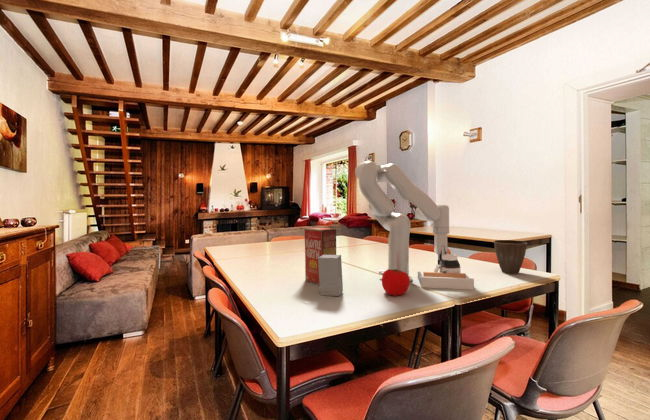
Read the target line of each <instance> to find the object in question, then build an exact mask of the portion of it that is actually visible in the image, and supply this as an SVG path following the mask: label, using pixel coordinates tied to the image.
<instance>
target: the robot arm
mask: <svg viewBox="0 0 650 420" xmlns="http://www.w3.org/2000/svg"><path fill="white" fill-rule="evenodd" d="M354 174H355V177H356V178H357V179H358V184H359V185H358V187H359V190H360V192H361V194H362V195H363V197H364V198H365V200H366V201H367V203H368V210H369V212H370V213H371V214H372V216H373V217H374V218H375V219H376V220H377V221H378V223H379V224H380V225H381V227H383V228H384V229H385V230H386V231H388V232H389V235H388V241H387V242H388V243H387V244H388V245H387V246H388V248H387V249H388V250H387V251H388V255H387V256H388V257H387V258H388V266H387V267H388V268H387V270H389V269H390V270H392V269H393V270H394V269H397V270H400V271H403V272H405V273H407V275H408V276H409V278H410V282H412V281H413V277H412V276H411V275H409V273H410V271H409V270H410V265H409V264H410V263H409V262H410V260H409V259H410V258H409V257H410V248H409V246H410V233H411V221H410V218H409V216H407V215H406V214H404V213H400V212H395V205H394V202H393V201H392V199H391V198H390V197H389V196H388V195H387V194H386V192H385V191H384V190H383V189H382V187H381V186H380V185H379V184H378V183H387V184H389V186H391V188H392V189H393V191H395V192H396V194H398V196H399V197H400V198H402V199H403V200H405V201H407V202H409V203H411V204H412V205H413V206H415V207H416V209H415V210H414V211H415V212H414V215H415V216H416V218H417V219H418V220H420V221H425V222H426V221H427V222H432V234H434V238H433V239H434V240H433V242H434V243H433V251H434V253H435V254H436V255H437V265H439V264H440V261H441V260H442V255H445V254H448V249H449V248H448V245H449V244H448V234H450V207H449V205H447V204H436V203H435V201H434V200H433V199H432V198H431V197H430V196H429V195H428V194H427V193H426V192H424V191H423V190H421V189H420V188H419V187H418V186H416V185H415V184H414V183H413V182H412V180H411V179H410V178H409V177H408V176H407V175H406V173H405V172H404V171H403V170H402V169H401V167H400V166H399V165H397V164H396V163H388V164H384V165H382V164H377V163H376V162H374V161H372V160H367V161H364V162H361V163H359V164H358V165H357V166H356V167H355V170H354ZM385 271H386V270H383V269H381V270H378V275H381V276H383V273H384V272H385Z"/></svg>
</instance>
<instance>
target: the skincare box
mask: <svg viewBox="0 0 650 420" xmlns="http://www.w3.org/2000/svg"><path fill="white" fill-rule="evenodd" d="M318 266H319V284H318V285H319V295H320V296H328V297H329V296H332V297H340V295H341V294H342V293H343V292H344V289H343V285H344V284H343V283H344V282H343V269H342V268H343V266H342V255H341V254H336V255H322V256H320V257H319V258H318Z"/></svg>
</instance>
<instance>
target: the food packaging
mask: <svg viewBox="0 0 650 420" xmlns="http://www.w3.org/2000/svg"><path fill="white" fill-rule="evenodd" d="M322 255H337V229H336V228H330V227H329V228H328V227H321V226H320V227H318V226H316V227H315V226H314V227H306V228H304V263H305V267H304V269H305V275H304V276H305V281H306V282H309V283H313V284H316V285H319V266H318V258H319V257H320V256H322Z"/></svg>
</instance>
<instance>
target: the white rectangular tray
mask: <svg viewBox="0 0 650 420" xmlns="http://www.w3.org/2000/svg"><path fill="white" fill-rule="evenodd" d="M417 280H418V282H419V285H420V287H421V288H427V289H429V288H430V289H432V288H433V289H449V290H451V289H454V290H455V289H457V290H473V291H474V290H475V279H474V278H472V277H471V278H470V277H469V276H468V275H467V274H466V278H449V277H423V273H421V271H417Z"/></svg>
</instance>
